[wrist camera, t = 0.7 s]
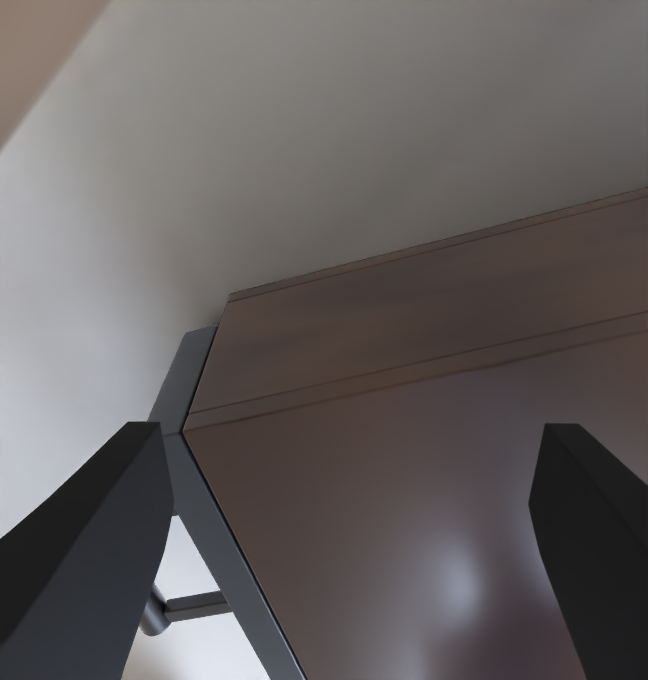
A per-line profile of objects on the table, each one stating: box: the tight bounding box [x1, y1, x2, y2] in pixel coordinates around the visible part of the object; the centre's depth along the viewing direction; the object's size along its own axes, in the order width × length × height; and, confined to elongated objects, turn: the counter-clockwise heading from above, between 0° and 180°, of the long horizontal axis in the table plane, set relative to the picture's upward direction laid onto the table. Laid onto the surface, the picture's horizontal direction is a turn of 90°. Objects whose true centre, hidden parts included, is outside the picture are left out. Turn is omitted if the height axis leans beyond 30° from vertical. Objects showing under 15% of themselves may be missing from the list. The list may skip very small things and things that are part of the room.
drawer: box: [139, 325, 308, 680], centre depth 21 cm, size 18×13×6 cm
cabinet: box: [183, 188, 648, 680], centre depth 20 cm, size 14×14×7 cm
